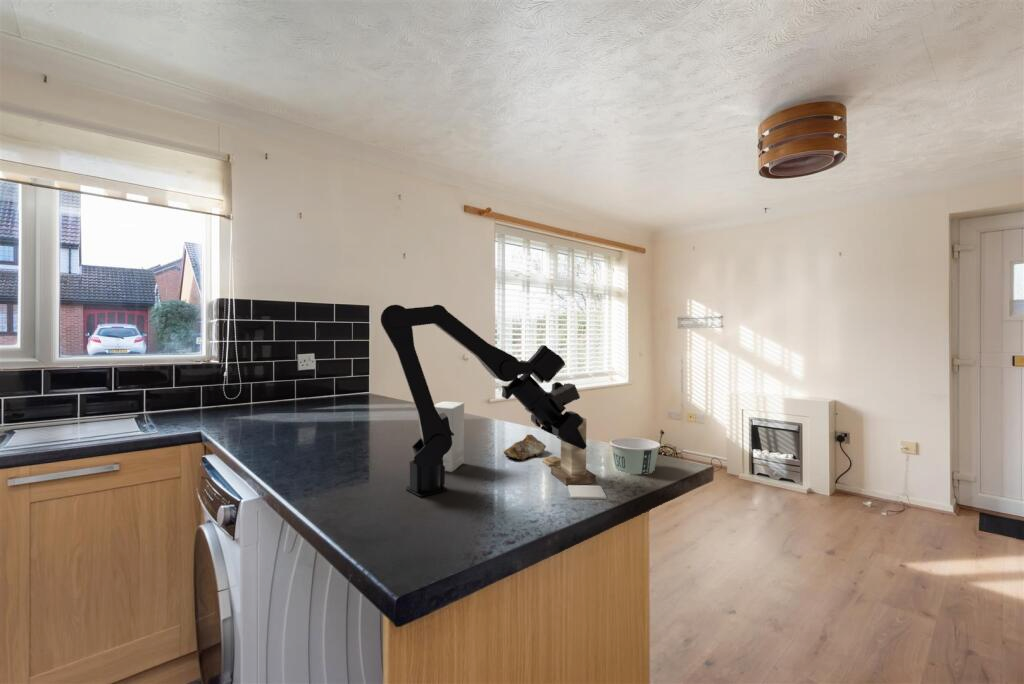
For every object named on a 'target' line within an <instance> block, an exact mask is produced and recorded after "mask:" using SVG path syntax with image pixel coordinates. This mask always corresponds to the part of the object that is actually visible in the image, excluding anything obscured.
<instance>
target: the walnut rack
mask: <svg viewBox="0 0 1024 684" xmlns="http://www.w3.org/2000/svg"><path fill="white" fill-rule="evenodd" d="M550 474H551V475H552V476H554V477H555V478H556V479H558V480H559V481H560V482H561V483H562V484H563V485H565V486H568V485H583V484H584V485H585V484H586V485H587V484H597V475H596V474H595V473H593V472H592V471H590V470H589V469H588V468H586V475H578V476H569V475H568V474H567V473H565V472H564V471H562V470H561V466H550Z"/></svg>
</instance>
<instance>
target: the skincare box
mask: <svg viewBox="0 0 1024 684" xmlns="http://www.w3.org/2000/svg"><path fill="white" fill-rule="evenodd" d="M434 406H435V409H436V411H437V412H438V414H439V415H440V414H441V413H443V412H444V413H445V414H446V416H447V417H448V420H449V426H450V429H451V431H452V432H453V434H454V436H451V437H452V446H451V448H450V450H449V451H448V452H447V453H446V454H444V456H443V465H444V466H445V472H446V471H447V472H448V473H452V472H454V471H455V470H457V469H458V468H459V467H460V466H462V465H463V464H464V444H465V443H464V441H465V440H464V439H465V433H464V432H465V428H464V427H465V402H463V401H460V402H459V401H440V402H438V403H434Z"/></svg>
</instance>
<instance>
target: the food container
mask: <svg viewBox="0 0 1024 684" xmlns="http://www.w3.org/2000/svg"><path fill="white" fill-rule="evenodd" d="M609 444H610V445H611V450H612V456H613V461H614V462H613V463H614V467H615V468H616V469H617V470H618V471H617V470H616V471H617V472H619V471H621V473H622V472H625V473H624V474H626V473H631V474H630V475H633V474H644V473H649V472H652V471H654V472H655V469H656V464H657V458H658V453H659V449H660V448H661V446H662V445H661V443H659V442H658V441H655V440H652V439H648V438H639V437H618V438H613V439H611V440H610V441H609Z"/></svg>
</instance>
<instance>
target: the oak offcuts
mask: <svg viewBox="0 0 1024 684" xmlns="http://www.w3.org/2000/svg"><path fill="white" fill-rule="evenodd" d="M542 463H544V464H545V465H546V466H547V467H550V468H551V467H554V466H561V457H558V456H556V455H555V456H549V457H544V458H543V459H542Z"/></svg>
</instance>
